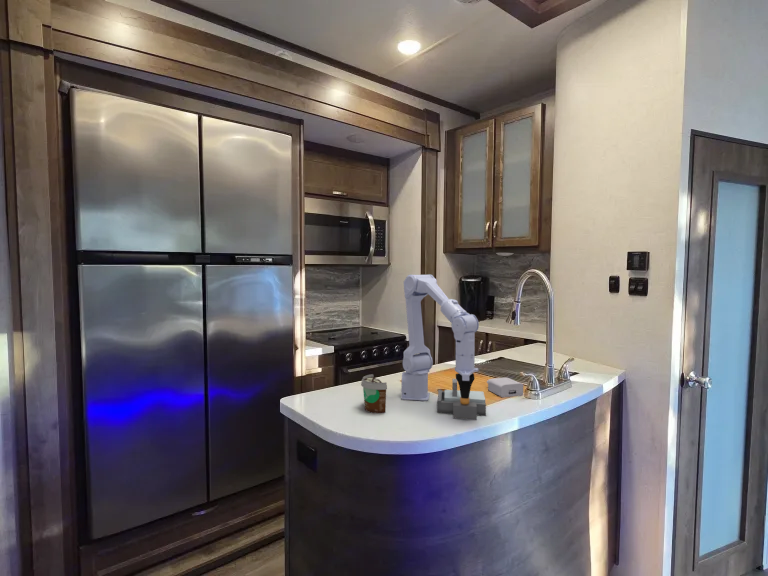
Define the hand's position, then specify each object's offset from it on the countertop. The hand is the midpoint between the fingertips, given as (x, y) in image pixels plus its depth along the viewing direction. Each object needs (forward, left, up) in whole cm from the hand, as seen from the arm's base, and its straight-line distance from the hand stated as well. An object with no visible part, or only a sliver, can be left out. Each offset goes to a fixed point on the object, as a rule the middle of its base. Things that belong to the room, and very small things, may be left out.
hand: (464, 397), depth 121 cm
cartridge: (0, +8, -5) cm, 9 cm away
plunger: (0, 0, -1) cm, 1 cm away
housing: (-1, +6, -6) cm, 8 cm away
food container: (-30, +2, -6) cm, 31 cm away
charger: (+14, +30, -6) cm, 34 cm away
